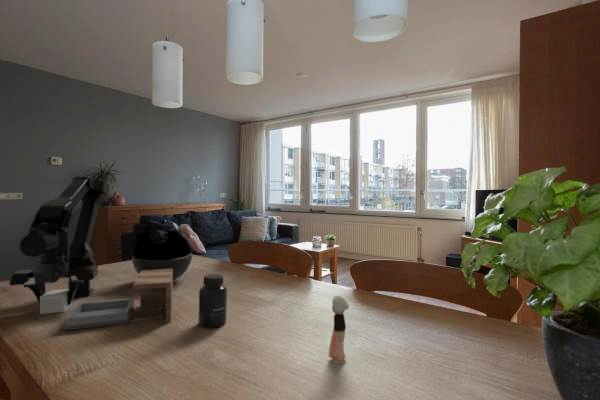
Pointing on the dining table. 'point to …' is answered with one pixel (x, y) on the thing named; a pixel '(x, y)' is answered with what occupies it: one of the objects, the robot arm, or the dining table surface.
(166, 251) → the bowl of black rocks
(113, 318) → the tray
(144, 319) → the rails
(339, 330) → the grandmother figurine
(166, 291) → the shelf
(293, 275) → the dining table surface
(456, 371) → the dining table surface
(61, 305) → the small box
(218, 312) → the supplement bottle
